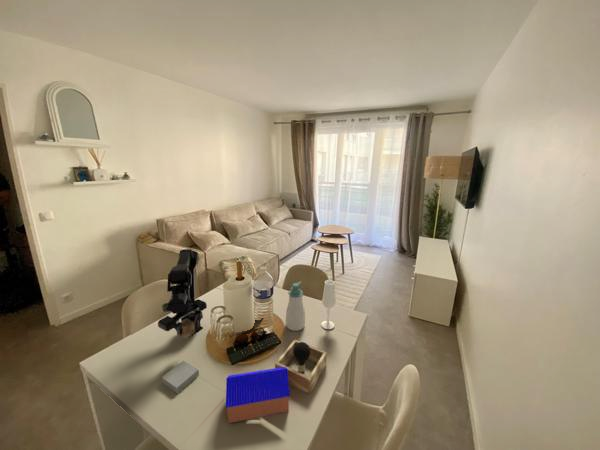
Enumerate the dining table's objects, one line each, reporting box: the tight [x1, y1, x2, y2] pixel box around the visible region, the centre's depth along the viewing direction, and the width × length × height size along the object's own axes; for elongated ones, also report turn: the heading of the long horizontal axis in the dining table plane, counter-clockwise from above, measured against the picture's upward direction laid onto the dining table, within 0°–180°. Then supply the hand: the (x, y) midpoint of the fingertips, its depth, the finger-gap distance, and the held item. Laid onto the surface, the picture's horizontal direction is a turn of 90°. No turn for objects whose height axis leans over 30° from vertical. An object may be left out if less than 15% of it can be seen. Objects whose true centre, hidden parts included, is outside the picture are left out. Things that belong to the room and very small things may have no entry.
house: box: [225, 367, 291, 424], centre depth 82 cm, size 12×20×12 cm, turn 102°
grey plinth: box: [161, 360, 200, 395], centre depth 91 cm, size 9×9×3 cm
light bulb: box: [293, 341, 310, 373], centre depth 94 cm, size 7×7×12 cm
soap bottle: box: [285, 281, 306, 332], centre depth 120 cm, size 10×10×23 cm
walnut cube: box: [176, 319, 195, 340], centre depth 101 cm, size 5×5×5 cm
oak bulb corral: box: [274, 339, 328, 395], centre depth 95 cm, size 15×15×6 cm
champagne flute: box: [321, 279, 336, 330], centre depth 120 cm, size 7×7×24 cm
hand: (186, 331), depth 101 cm, fingers closed on walnut cube, 5 cm apart
